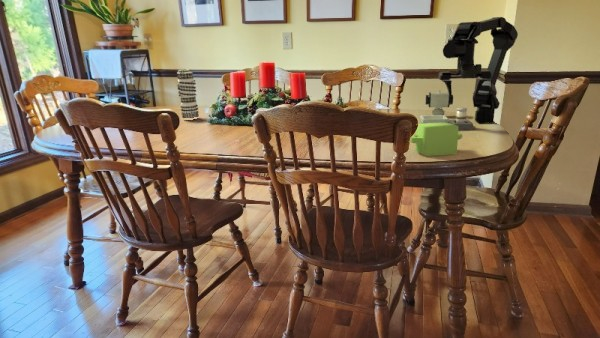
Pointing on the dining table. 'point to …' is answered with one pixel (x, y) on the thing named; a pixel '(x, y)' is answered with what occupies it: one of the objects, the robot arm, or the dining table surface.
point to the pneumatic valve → (438, 101)
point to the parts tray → (433, 119)
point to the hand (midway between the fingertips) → (462, 97)
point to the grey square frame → (462, 125)
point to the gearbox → (436, 139)
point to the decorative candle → (187, 93)
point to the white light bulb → (461, 115)
